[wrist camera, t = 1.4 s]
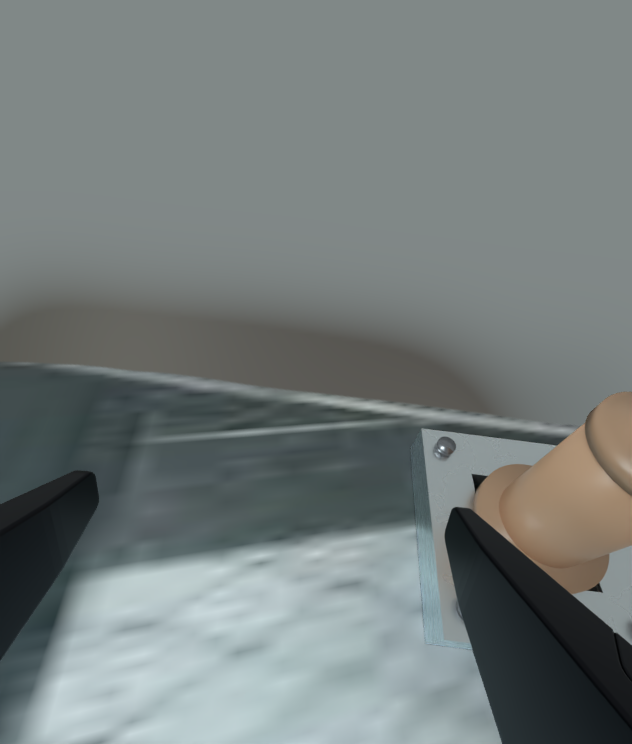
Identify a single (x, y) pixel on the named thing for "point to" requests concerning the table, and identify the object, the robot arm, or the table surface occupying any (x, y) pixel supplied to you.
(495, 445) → the square mounting plate
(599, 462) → the knob
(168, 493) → the table surface
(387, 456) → the table surface
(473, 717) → the table surface
